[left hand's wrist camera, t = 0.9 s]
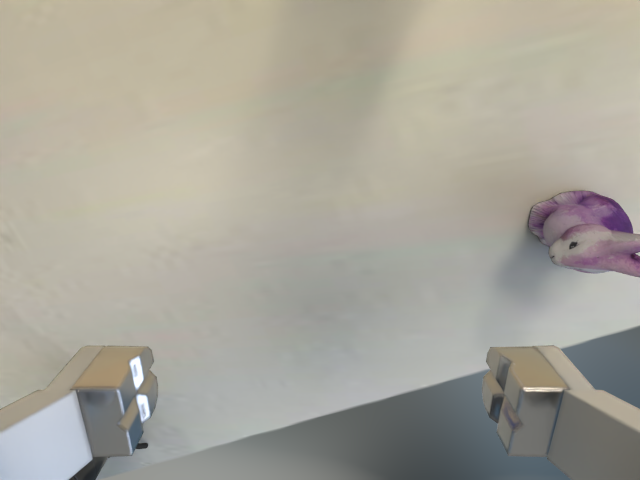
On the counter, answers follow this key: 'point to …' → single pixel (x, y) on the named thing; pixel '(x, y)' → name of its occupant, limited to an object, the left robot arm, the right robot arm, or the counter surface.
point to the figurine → (587, 233)
